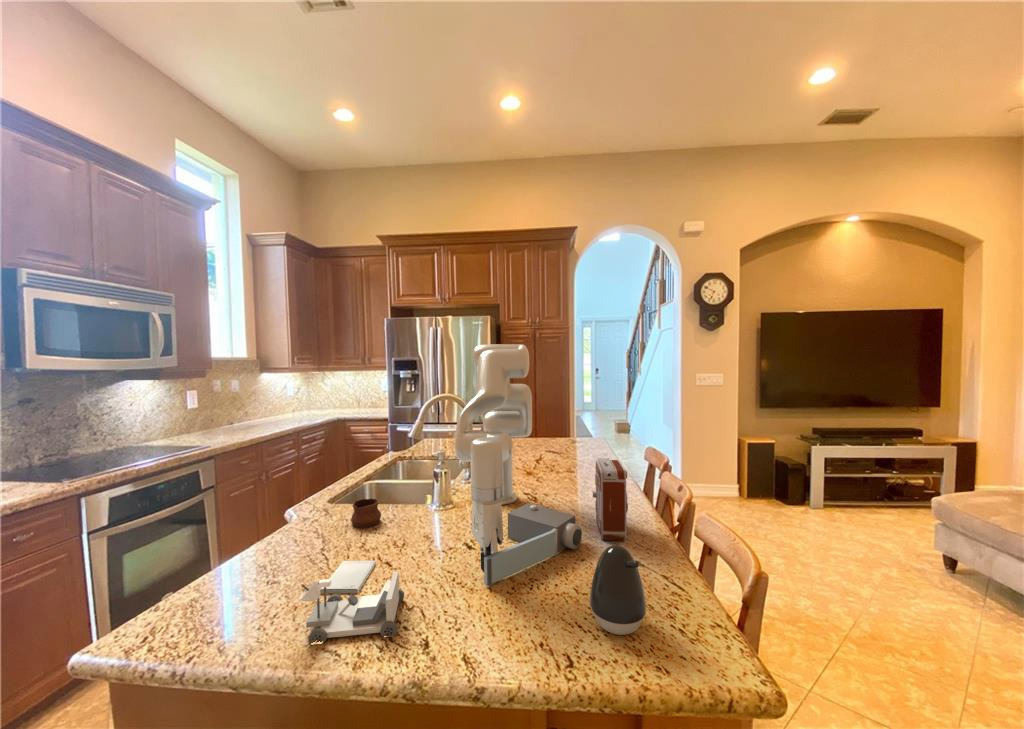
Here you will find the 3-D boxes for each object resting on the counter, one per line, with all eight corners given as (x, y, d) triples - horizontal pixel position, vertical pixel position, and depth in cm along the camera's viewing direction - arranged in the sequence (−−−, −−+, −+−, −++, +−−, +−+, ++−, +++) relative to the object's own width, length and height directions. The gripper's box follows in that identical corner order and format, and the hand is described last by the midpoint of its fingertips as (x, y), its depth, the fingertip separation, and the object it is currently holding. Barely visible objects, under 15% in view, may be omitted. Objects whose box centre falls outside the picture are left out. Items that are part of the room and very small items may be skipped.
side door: (488, 587, 90) (487, 558, 90) (484, 584, 92) (483, 556, 91) (559, 554, 105) (559, 530, 105) (554, 552, 106) (554, 528, 106)
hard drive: (357, 588, 89) (375, 559, 102) (319, 589, 89) (342, 560, 102) (358, 596, 89) (375, 566, 102) (320, 596, 89) (342, 566, 102)
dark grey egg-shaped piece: (616, 652, 71) (615, 564, 70) (579, 618, 80) (578, 541, 80) (658, 633, 76) (658, 551, 75) (619, 603, 85) (619, 530, 84)
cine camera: (619, 515, 131) (619, 453, 130) (631, 543, 111) (631, 470, 111) (590, 515, 132) (590, 452, 131) (597, 542, 112) (596, 469, 112)
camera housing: (507, 538, 116) (507, 510, 116) (528, 526, 124) (528, 500, 123) (568, 558, 104) (568, 527, 104) (587, 543, 112) (586, 515, 111)
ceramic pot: (333, 540, 116) (333, 515, 116) (336, 518, 133) (336, 496, 133) (399, 531, 122) (399, 507, 122) (394, 511, 139) (394, 490, 139)
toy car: (291, 595, 73) (313, 562, 84) (292, 650, 73) (314, 610, 84) (396, 585, 75) (403, 555, 87) (397, 638, 75) (404, 601, 87)
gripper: (463, 484, 101) (464, 557, 102) (481, 505, 87) (482, 590, 88) (492, 480, 104) (493, 552, 104) (514, 500, 90) (515, 582, 90)
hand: (488, 569), depth 96 cm, fingers closed
